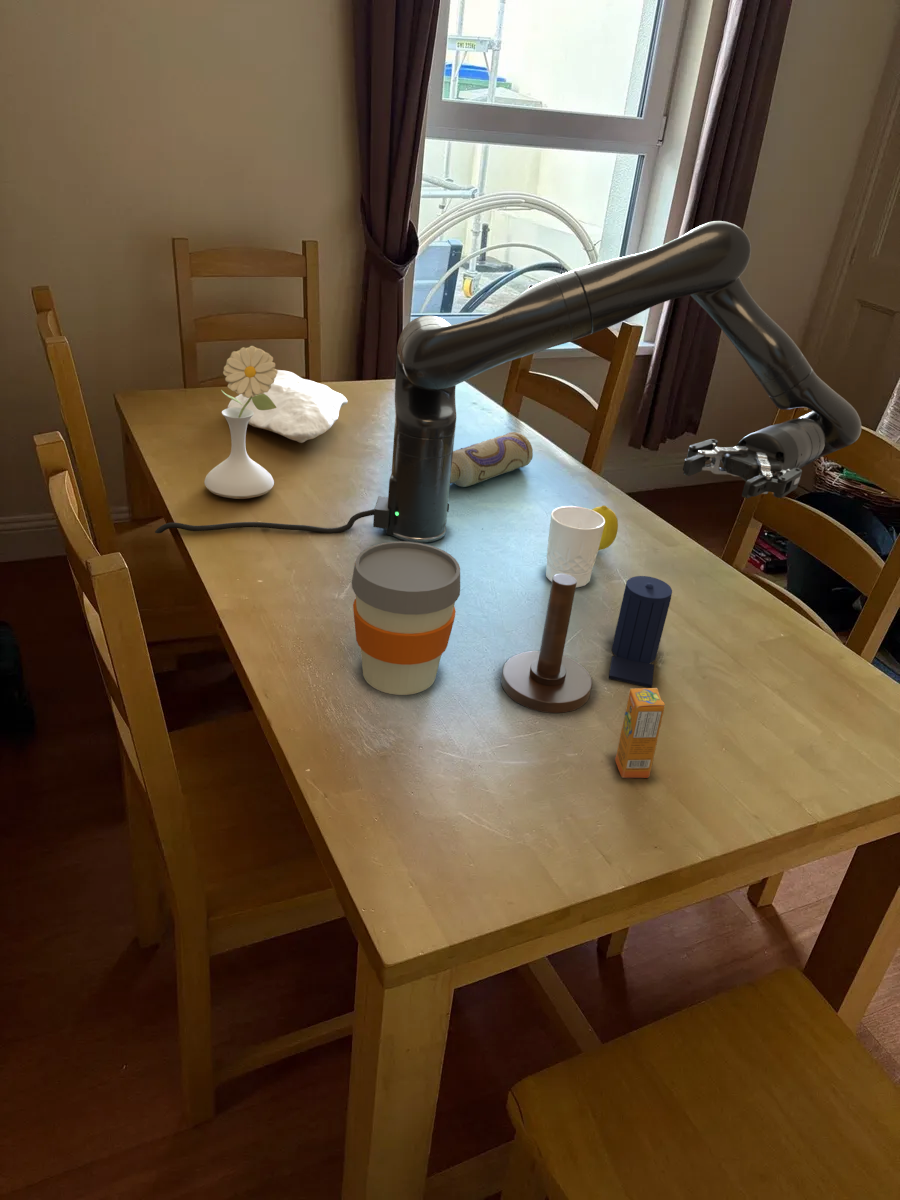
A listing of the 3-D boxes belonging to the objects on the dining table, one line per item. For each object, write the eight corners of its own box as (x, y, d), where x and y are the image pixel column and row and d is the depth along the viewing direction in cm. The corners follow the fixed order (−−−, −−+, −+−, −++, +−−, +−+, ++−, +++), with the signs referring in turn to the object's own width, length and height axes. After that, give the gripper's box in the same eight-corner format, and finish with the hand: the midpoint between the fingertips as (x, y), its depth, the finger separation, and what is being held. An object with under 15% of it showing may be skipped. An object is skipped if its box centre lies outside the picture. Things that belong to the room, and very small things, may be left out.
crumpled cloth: (322, 389, 197) (316, 349, 192) (384, 444, 171) (380, 399, 166) (218, 412, 189) (209, 370, 184) (266, 473, 162) (258, 426, 157)
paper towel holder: (500, 707, 105) (516, 597, 97) (501, 655, 114) (517, 552, 107) (593, 718, 105) (616, 609, 97) (587, 665, 114) (608, 562, 107)
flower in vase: (190, 495, 147) (182, 343, 135) (230, 472, 156) (225, 328, 144) (258, 513, 143) (256, 359, 131) (295, 490, 153) (296, 343, 140)
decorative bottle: (502, 458, 175) (506, 426, 171) (531, 471, 170) (536, 438, 167) (407, 488, 158) (410, 453, 154) (438, 503, 153) (441, 467, 150)
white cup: (597, 572, 137) (609, 513, 132) (587, 595, 130) (599, 533, 125) (548, 560, 139) (558, 501, 134) (535, 582, 132) (545, 521, 127)
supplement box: (611, 758, 98) (628, 685, 93) (641, 759, 99) (660, 686, 94) (618, 779, 96) (637, 704, 91) (649, 779, 96) (669, 705, 91)
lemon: (611, 561, 140) (621, 515, 136) (577, 555, 141) (585, 509, 137) (613, 546, 145) (622, 501, 141) (579, 541, 146) (587, 496, 142)
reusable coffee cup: (413, 718, 101) (423, 605, 94) (326, 677, 107) (329, 567, 99) (469, 669, 111) (482, 563, 103) (387, 633, 116) (394, 530, 109)
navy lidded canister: (613, 636, 121) (628, 568, 116) (656, 645, 120) (673, 577, 115) (606, 678, 112) (622, 607, 107) (653, 688, 111) (671, 616, 106)
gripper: (734, 413, 127) (674, 434, 116) (830, 443, 119) (775, 469, 108) (721, 462, 131) (662, 487, 120) (813, 495, 123) (758, 525, 112)
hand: (715, 479), depth 114 cm, fingers open, 8 cm apart
